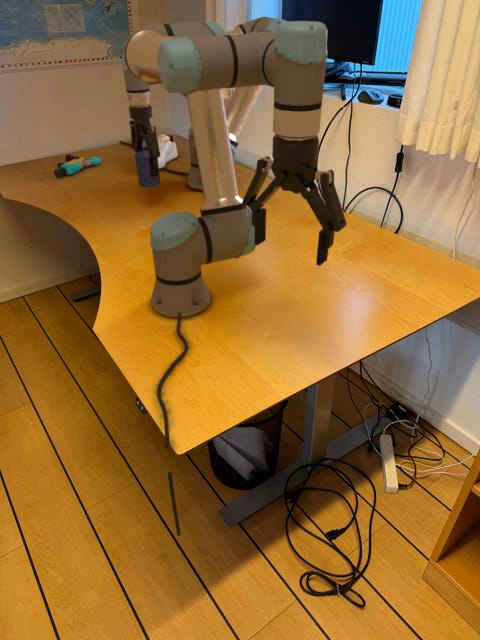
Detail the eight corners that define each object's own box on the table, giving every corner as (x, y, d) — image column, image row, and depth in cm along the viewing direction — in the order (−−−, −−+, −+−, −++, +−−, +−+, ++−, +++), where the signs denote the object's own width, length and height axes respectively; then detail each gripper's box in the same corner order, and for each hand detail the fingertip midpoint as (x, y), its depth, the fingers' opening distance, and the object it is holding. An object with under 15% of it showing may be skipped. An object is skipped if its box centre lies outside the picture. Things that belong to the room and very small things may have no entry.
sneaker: (133, 173, 208) (129, 144, 201) (161, 153, 230) (158, 127, 223) (155, 175, 205) (151, 146, 198) (180, 155, 227) (178, 129, 220)
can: (155, 188, 169) (151, 157, 163) (135, 186, 171) (130, 156, 165) (164, 180, 175) (160, 151, 169) (144, 179, 177) (140, 149, 171)
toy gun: (34, 165, 203) (60, 171, 198) (76, 150, 222) (101, 154, 216) (36, 176, 206) (62, 181, 200) (78, 159, 225) (103, 164, 219)
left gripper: (378, 141, 73) (359, 263, 85) (247, 119, 85) (248, 228, 98) (356, 153, 68) (340, 280, 81) (221, 128, 80) (225, 241, 93)
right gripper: (114, 101, 162) (125, 168, 176) (146, 112, 149) (154, 183, 163) (134, 98, 166) (142, 164, 179) (166, 108, 153) (173, 178, 166)
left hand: (289, 252), depth 89 cm, fingers open, 13 cm apart
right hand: (148, 173), depth 171 cm, fingers closed on can, 8 cm apart
